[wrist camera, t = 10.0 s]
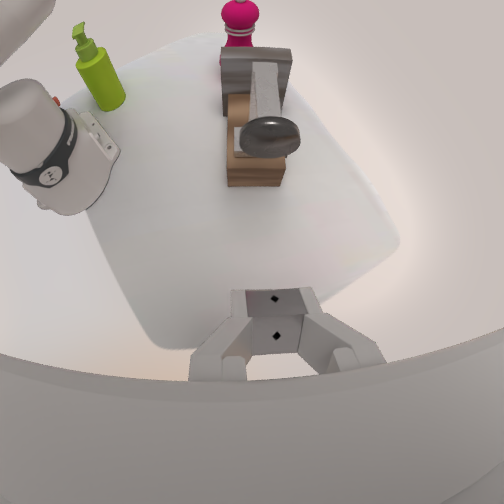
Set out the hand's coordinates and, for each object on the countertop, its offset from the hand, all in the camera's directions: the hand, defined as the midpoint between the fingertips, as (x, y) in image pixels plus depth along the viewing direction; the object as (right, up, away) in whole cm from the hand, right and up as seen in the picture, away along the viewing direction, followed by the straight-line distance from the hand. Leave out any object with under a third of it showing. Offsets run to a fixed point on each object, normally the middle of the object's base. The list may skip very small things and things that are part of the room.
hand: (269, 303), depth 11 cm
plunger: (+1, +13, +30) cm, 32 cm away
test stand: (-1, +20, +34) cm, 40 cm away
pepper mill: (-3, +36, +38) cm, 52 cm away
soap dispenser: (-29, +33, +36) cm, 56 cm away
